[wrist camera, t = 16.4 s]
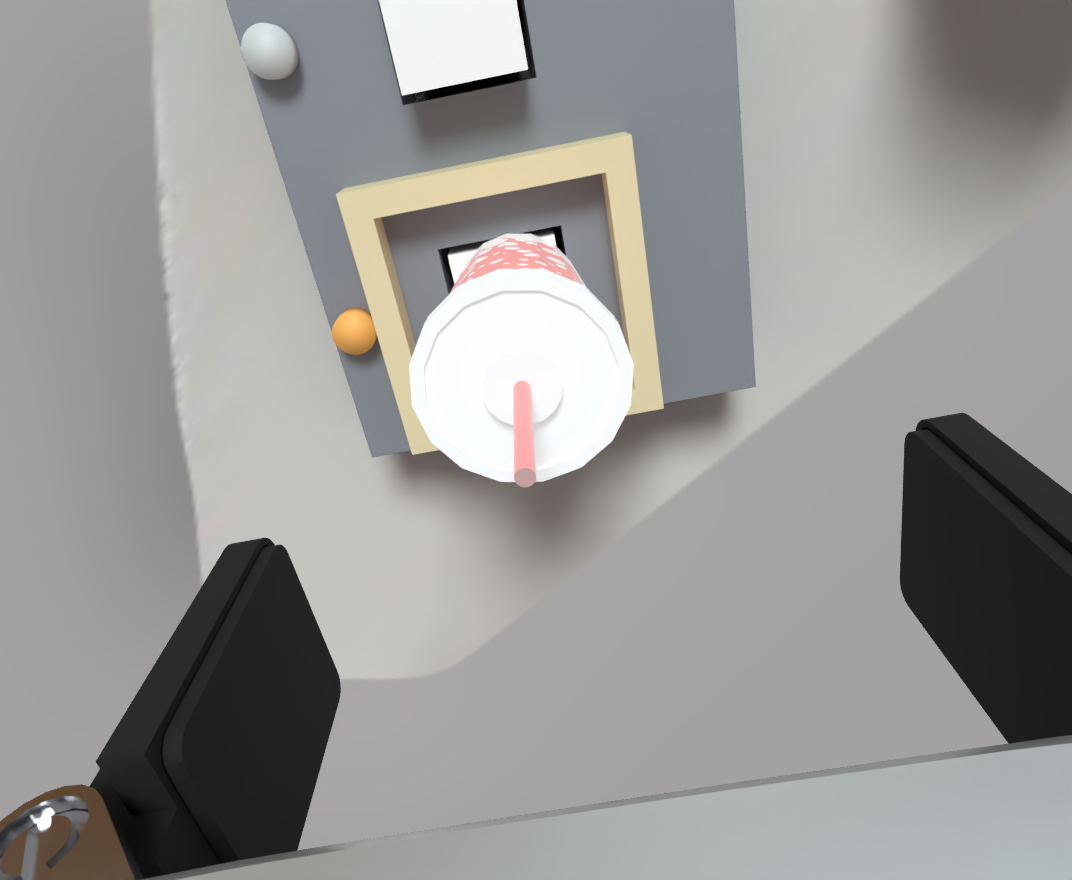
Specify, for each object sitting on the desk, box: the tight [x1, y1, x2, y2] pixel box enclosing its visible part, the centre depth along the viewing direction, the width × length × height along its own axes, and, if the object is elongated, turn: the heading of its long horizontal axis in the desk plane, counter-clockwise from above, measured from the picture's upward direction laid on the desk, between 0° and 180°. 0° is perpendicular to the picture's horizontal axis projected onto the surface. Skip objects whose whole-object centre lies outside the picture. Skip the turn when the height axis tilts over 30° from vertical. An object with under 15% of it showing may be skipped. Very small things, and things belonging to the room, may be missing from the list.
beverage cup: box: [409, 234, 634, 487], centre depth 22 cm, size 6×6×14 cm
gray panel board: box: [226, 0, 756, 457], centre depth 27 cm, size 16×19×6 cm
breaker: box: [379, 0, 528, 95], centre depth 24 cm, size 4×4×4 cm
